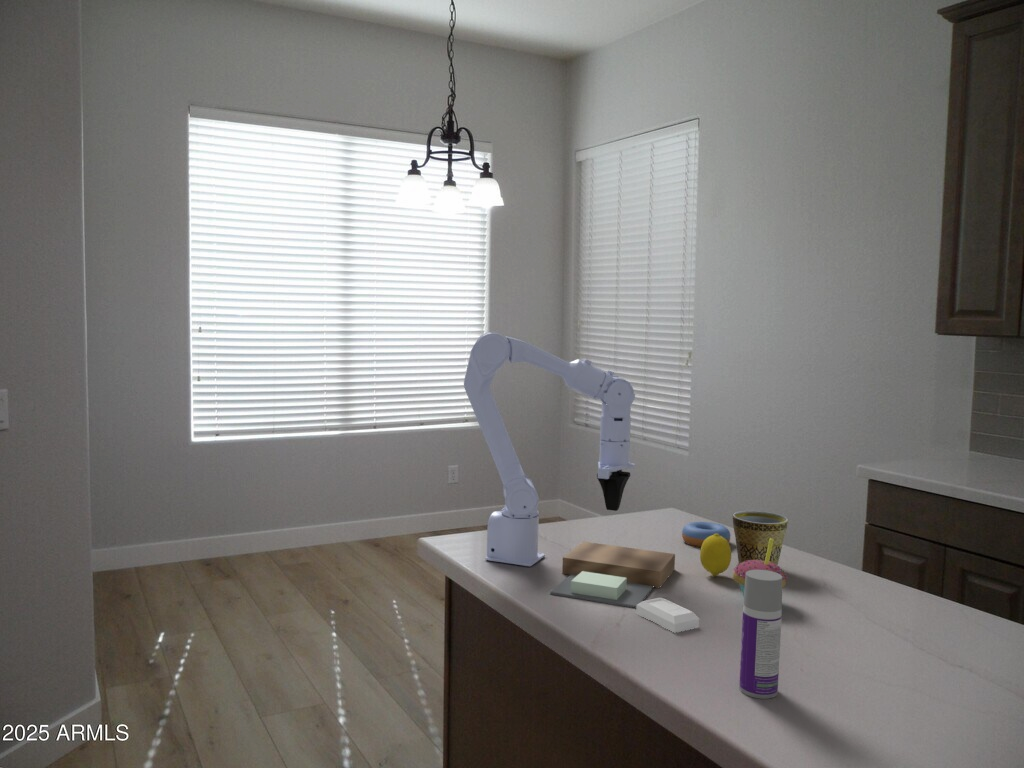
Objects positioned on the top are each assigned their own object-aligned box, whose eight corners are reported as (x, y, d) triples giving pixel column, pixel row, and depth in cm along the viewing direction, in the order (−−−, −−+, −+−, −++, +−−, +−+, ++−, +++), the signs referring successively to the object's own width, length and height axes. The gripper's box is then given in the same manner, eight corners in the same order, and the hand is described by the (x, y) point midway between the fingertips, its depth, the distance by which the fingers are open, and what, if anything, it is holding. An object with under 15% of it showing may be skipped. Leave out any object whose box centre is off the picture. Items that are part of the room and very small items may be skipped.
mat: (550, 594, 139) (550, 591, 139) (571, 575, 149) (571, 573, 149) (637, 608, 133) (637, 605, 133) (653, 588, 143) (653, 586, 143)
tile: (582, 571, 144) (581, 582, 144) (571, 580, 139) (570, 592, 139) (626, 577, 141) (626, 589, 141) (617, 588, 135) (616, 599, 136)
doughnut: (722, 535, 179) (722, 515, 178) (737, 551, 169) (736, 529, 168) (677, 539, 178) (676, 519, 178) (689, 555, 168) (688, 533, 168)
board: (562, 573, 150) (562, 557, 150) (583, 556, 161) (583, 541, 161) (659, 588, 143) (660, 571, 143) (674, 569, 154) (675, 553, 154)
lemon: (727, 572, 153) (729, 530, 152) (732, 581, 148) (734, 538, 147) (697, 570, 154) (699, 528, 153) (701, 580, 148) (703, 536, 148)
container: (733, 682, 106) (739, 569, 105) (768, 681, 107) (774, 569, 106) (747, 699, 102) (752, 580, 101) (783, 698, 102) (789, 580, 101)
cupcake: (793, 603, 137) (797, 532, 136) (770, 615, 131) (774, 542, 130) (746, 590, 143) (749, 522, 142) (722, 602, 137) (725, 531, 136)
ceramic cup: (792, 577, 151) (795, 524, 150) (737, 576, 151) (740, 522, 150) (771, 557, 164) (774, 507, 163) (721, 555, 164) (723, 506, 163)
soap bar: (674, 635, 123) (674, 618, 123) (636, 616, 131) (636, 599, 130) (698, 630, 125) (699, 613, 125) (660, 611, 133) (660, 595, 133)
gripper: (624, 446, 149) (622, 520, 150) (644, 436, 163) (642, 504, 164) (587, 443, 152) (585, 515, 153) (610, 433, 165) (608, 500, 166)
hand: (612, 509), depth 159 cm, fingers closed
